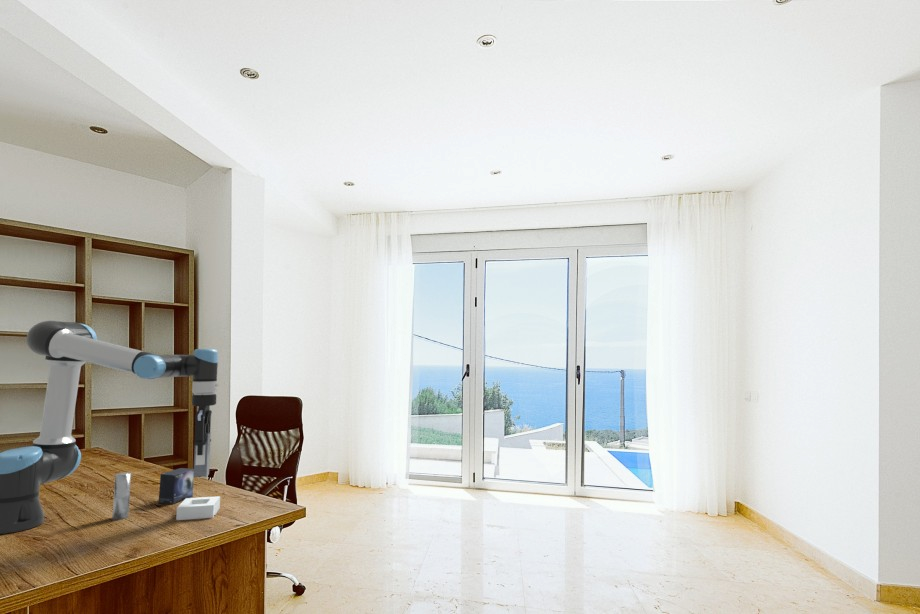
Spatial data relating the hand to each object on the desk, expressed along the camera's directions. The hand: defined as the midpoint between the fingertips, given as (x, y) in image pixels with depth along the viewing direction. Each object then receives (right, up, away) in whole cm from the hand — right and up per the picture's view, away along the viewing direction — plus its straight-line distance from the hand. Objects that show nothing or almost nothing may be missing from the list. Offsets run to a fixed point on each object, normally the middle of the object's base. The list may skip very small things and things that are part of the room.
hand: (201, 463), depth 175 cm
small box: (-17, -18, +15) cm, 29 cm away
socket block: (0, -17, -2) cm, 17 cm away
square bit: (0, -4, 0) cm, 4 cm away
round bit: (-24, -16, -6) cm, 30 cm away
